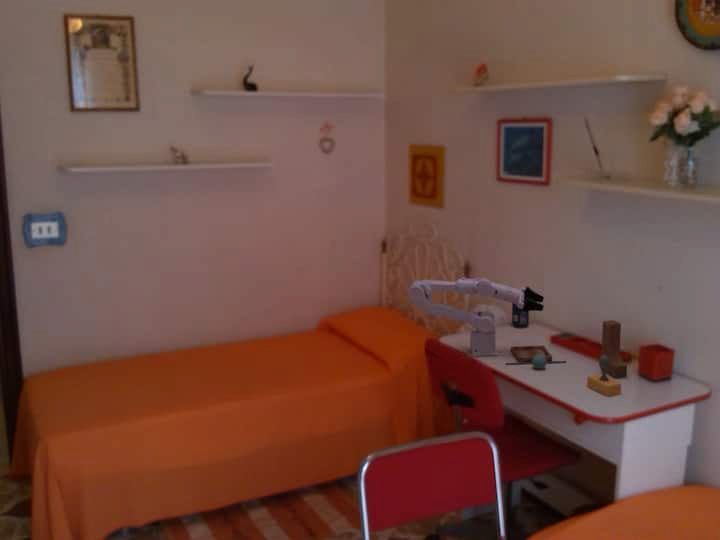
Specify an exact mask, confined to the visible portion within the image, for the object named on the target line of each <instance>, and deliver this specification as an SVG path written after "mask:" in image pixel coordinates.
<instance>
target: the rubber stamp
mask: <svg viewBox="0 0 720 540" xmlns="http://www.w3.org/2000/svg"><path fill="white" fill-rule="evenodd" d="M599 357H600V358H598V359H599V360H598V364H599V369H600V371H601V373H597V374H592V375H587V378H586V379H587V381H586V383H587V384H586V386H587V387H588V388H590V389H591V390H594V391H595V392H598V393H600V394H601V395H604V396H605V397H612V396H617V395H621V394H622V392H621V391H622V383H621V382H620V381H617V380H615V379H613V378H612V377H609V376H607V373H606V372H607V370H608V367H609V365H610V359H609V357H608V356H606V355H603V356H602V355H601V356H599Z"/></svg>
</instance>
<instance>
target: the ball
mask: <svg viewBox="0 0 720 540" xmlns="http://www.w3.org/2000/svg"><path fill="white" fill-rule="evenodd" d="M546 362H547V361H546V358H545V357H544V356H542V355H536V356H534V357H533V359H532V364H531V365H532V366H533V367H534V368H536V369H541V370H542V369H544V368H545V367H546V365H547V364H546Z"/></svg>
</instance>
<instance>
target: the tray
mask: <svg viewBox="0 0 720 540" xmlns="http://www.w3.org/2000/svg"><path fill="white" fill-rule="evenodd" d="M510 352H511V354H512V357H514V359H515V362H516V363H523V362H532V359H533V357H534V356H536V355H542V356H544V357H545V358H546V362H551V361H553V356H552V354H551V353H550V352H549V350H548V349H547V348H546V346H545V345H522V346H520V345H519V346H515V345H514V346H510Z"/></svg>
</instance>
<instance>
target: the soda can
mask: <svg viewBox="0 0 720 540" xmlns="http://www.w3.org/2000/svg"><path fill="white" fill-rule="evenodd" d="M529 320H530V311H525V312H523V311H522V309H521V308H518V306H517V304H514V303H511V324H512V326H513V327H514V328H517V329H524V328H528V326H529V323H530V321H529Z"/></svg>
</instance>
